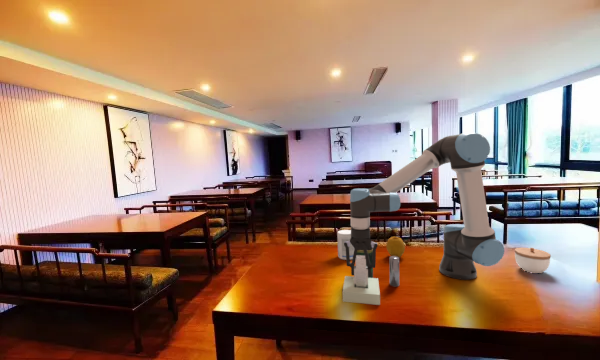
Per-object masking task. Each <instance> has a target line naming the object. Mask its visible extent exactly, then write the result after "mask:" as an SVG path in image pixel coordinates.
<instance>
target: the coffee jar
mask: <svg viewBox="0 0 600 360" xmlns="http://www.w3.org/2000/svg"><path fill="white" fill-rule="evenodd" d="M367 251H368V256H369V260H370V264H372V251H373V248H372V246H371V244H370V245H369V247H368V248H367ZM357 255H361V256H365V254H364V250H357ZM366 267H367V263H366ZM368 278H374V268H371V276H368Z"/></svg>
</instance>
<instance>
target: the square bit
mask: <svg viewBox="0 0 600 360" xmlns="http://www.w3.org/2000/svg"><path fill="white" fill-rule="evenodd" d="M355 266H356V287H357V288H366V258H365V256H361V255H356V260H355Z"/></svg>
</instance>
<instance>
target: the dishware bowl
mask: <svg viewBox="0 0 600 360" xmlns="http://www.w3.org/2000/svg"><path fill="white" fill-rule="evenodd" d="M514 259H515V262H516V264H517V265H518V267H519V268H520V269H521V268H522V269H523V270H525V271H527V272H526V273H528V272H532V273H541V274H543V272H546V271H547V270H548V269H549V266H550V263H551V253H549V252H547V251H546V250H545V251H544V250H542V249H537V248H534V247H515V249H514ZM522 269H521V270H522ZM523 270H522V271H523ZM525 271H524V272H525ZM532 273H531V274H532Z"/></svg>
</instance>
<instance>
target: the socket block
mask: <svg viewBox="0 0 600 360" xmlns="http://www.w3.org/2000/svg"><path fill="white" fill-rule="evenodd" d="M379 283H380V282H379V278H378V277H377V278H376V277H373V278H368V285H366V288H357V287H356V284H354V275H351V276H350V275H345V276H344V281H343V286H342V302H343V303H346V302H347V303H357V304H366V305H374V306H375V305H376V306H380V305H381V292H380V291H381V290H380V284H379Z"/></svg>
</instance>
